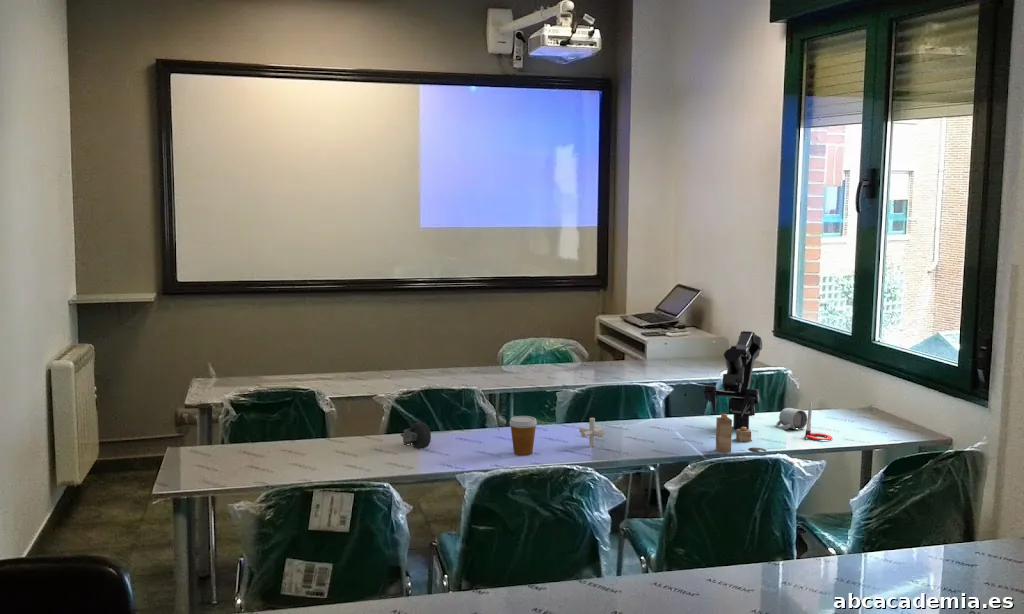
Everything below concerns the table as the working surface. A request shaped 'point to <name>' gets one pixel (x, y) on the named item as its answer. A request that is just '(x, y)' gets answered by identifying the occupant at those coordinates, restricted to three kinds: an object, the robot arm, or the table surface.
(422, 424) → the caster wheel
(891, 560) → the table surface
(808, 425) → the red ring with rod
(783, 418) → the ceramic mug
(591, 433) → the pipe connector
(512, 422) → the disposable coffee cup
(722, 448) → the point post
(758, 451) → the plate
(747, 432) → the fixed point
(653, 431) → the table surface
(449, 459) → the table surface
